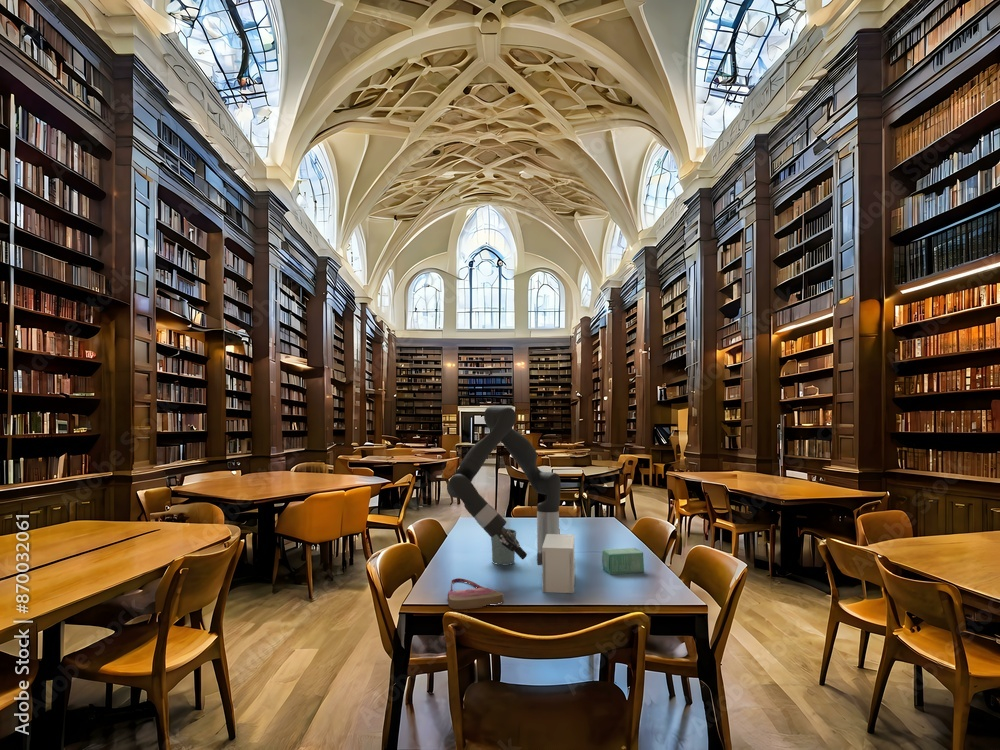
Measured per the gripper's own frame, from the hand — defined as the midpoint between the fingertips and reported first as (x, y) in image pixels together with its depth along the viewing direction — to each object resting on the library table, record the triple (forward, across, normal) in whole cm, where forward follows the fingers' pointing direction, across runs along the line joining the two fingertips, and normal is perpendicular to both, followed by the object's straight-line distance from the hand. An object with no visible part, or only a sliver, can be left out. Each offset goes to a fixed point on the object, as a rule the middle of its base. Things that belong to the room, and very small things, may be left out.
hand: (525, 557), depth 191 cm
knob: (+8, 0, -4) cm, 9 cm away
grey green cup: (-2, +25, +14) cm, 28 cm away
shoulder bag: (-6, -15, +19) cm, 25 cm away
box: (+30, +18, -18) cm, 40 cm away
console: (+14, 0, -2) cm, 14 cm away
